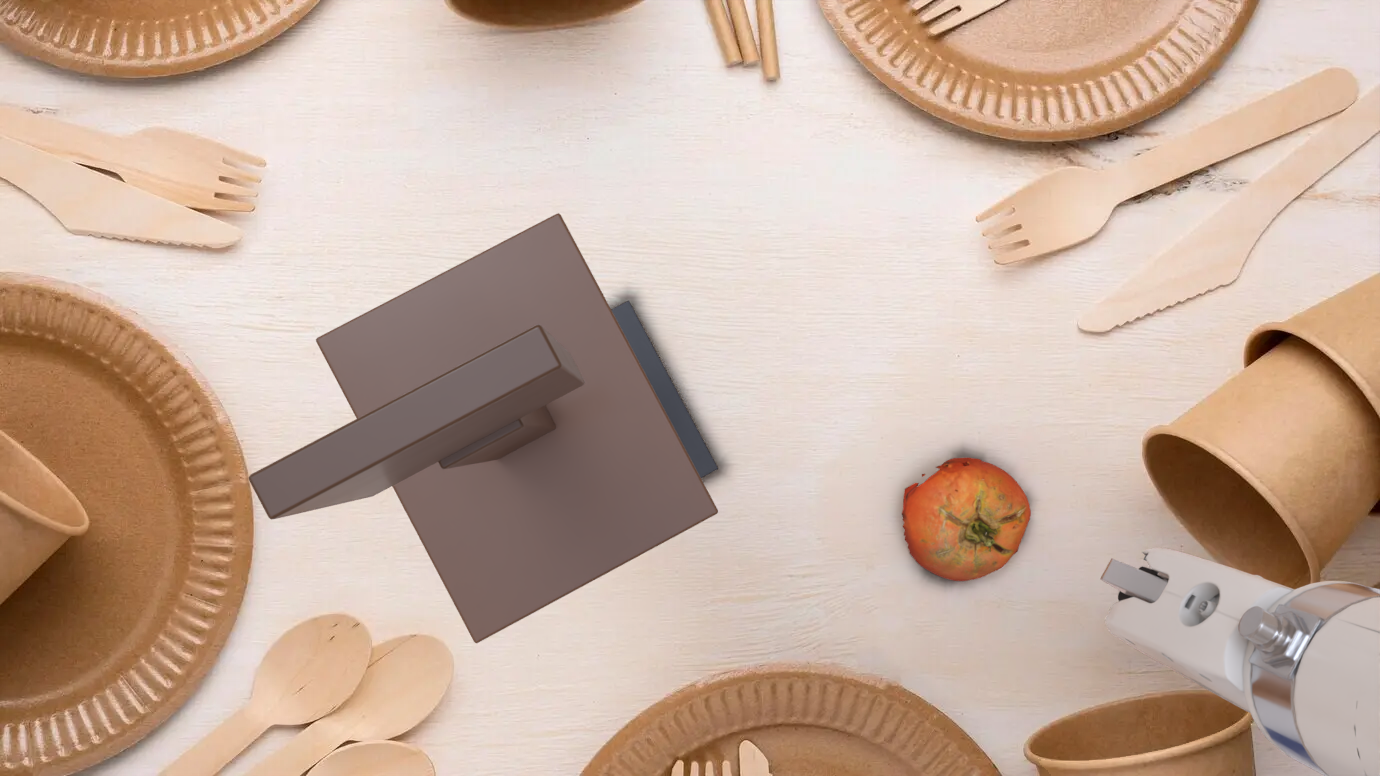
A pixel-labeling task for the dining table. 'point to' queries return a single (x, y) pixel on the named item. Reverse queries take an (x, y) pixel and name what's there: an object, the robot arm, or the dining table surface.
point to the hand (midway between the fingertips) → (1138, 597)
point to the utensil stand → (507, 429)
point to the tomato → (965, 519)
